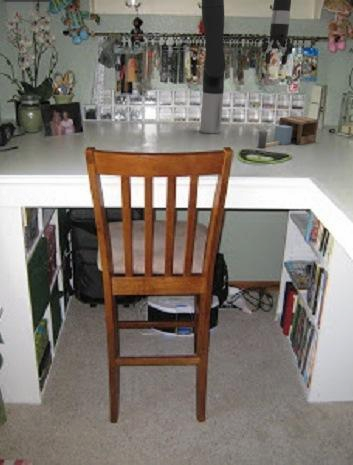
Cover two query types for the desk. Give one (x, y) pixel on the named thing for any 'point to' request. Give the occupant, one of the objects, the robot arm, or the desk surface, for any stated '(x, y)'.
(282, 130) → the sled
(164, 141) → the desk surface
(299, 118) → the shelf
